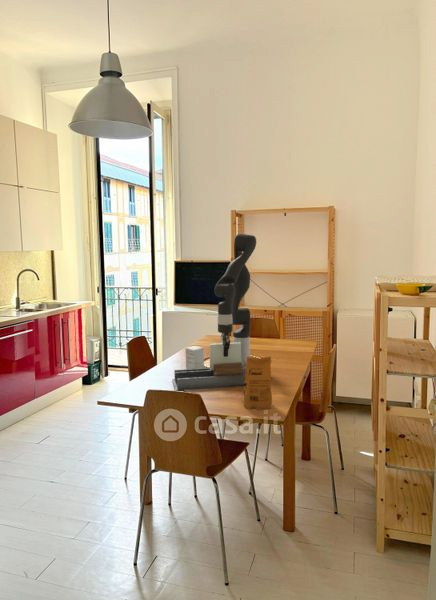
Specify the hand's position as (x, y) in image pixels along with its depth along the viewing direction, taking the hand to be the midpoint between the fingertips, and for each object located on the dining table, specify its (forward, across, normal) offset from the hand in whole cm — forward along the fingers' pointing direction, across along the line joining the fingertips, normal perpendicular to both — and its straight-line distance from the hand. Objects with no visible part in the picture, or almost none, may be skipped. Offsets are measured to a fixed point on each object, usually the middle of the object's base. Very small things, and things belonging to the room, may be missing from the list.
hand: (225, 355), depth 244 cm
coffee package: (+13, +38, +7) cm, 41 cm away
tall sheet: (+12, 0, 0) cm, 12 cm away
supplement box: (+13, -23, -13) cm, 30 cm away
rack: (+13, +5, -8) cm, 16 cm away
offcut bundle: (+12, +8, 0) cm, 14 cm away
